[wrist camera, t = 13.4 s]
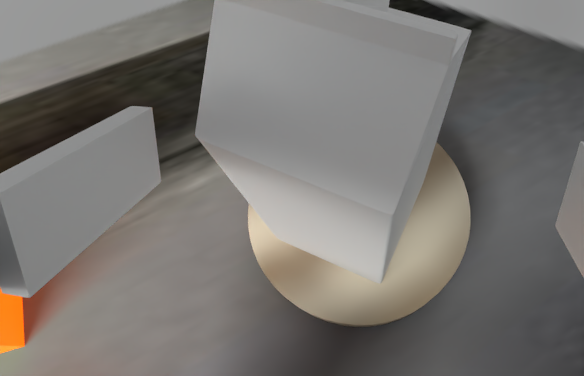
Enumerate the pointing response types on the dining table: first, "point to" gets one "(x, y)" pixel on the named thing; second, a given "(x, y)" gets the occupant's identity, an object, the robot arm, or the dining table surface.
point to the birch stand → (401, 271)
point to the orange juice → (11, 322)
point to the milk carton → (328, 118)
